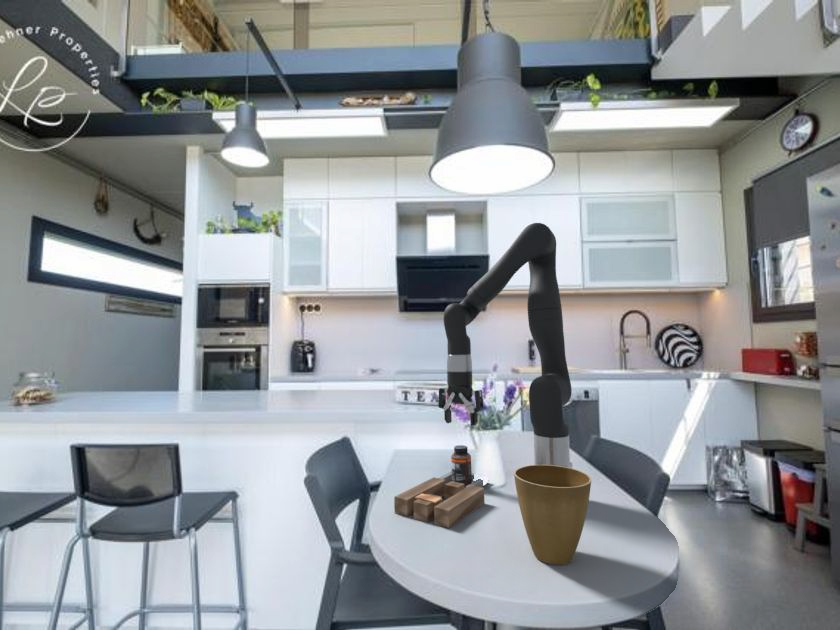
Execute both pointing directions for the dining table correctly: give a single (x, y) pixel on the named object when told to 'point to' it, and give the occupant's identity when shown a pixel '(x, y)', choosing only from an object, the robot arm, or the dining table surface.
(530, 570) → the dining table surface
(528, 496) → the plant pot
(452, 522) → the socket board
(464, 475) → the supplement bottle
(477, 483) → the cradle
